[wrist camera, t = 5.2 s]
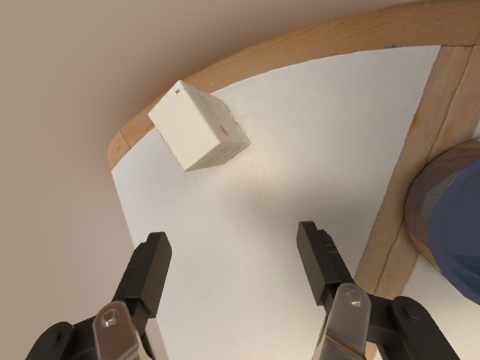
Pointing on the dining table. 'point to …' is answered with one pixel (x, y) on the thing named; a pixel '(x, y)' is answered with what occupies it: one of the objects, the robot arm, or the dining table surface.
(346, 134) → the dining table surface
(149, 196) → the dining table surface
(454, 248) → the glazed bowl
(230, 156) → the small box
